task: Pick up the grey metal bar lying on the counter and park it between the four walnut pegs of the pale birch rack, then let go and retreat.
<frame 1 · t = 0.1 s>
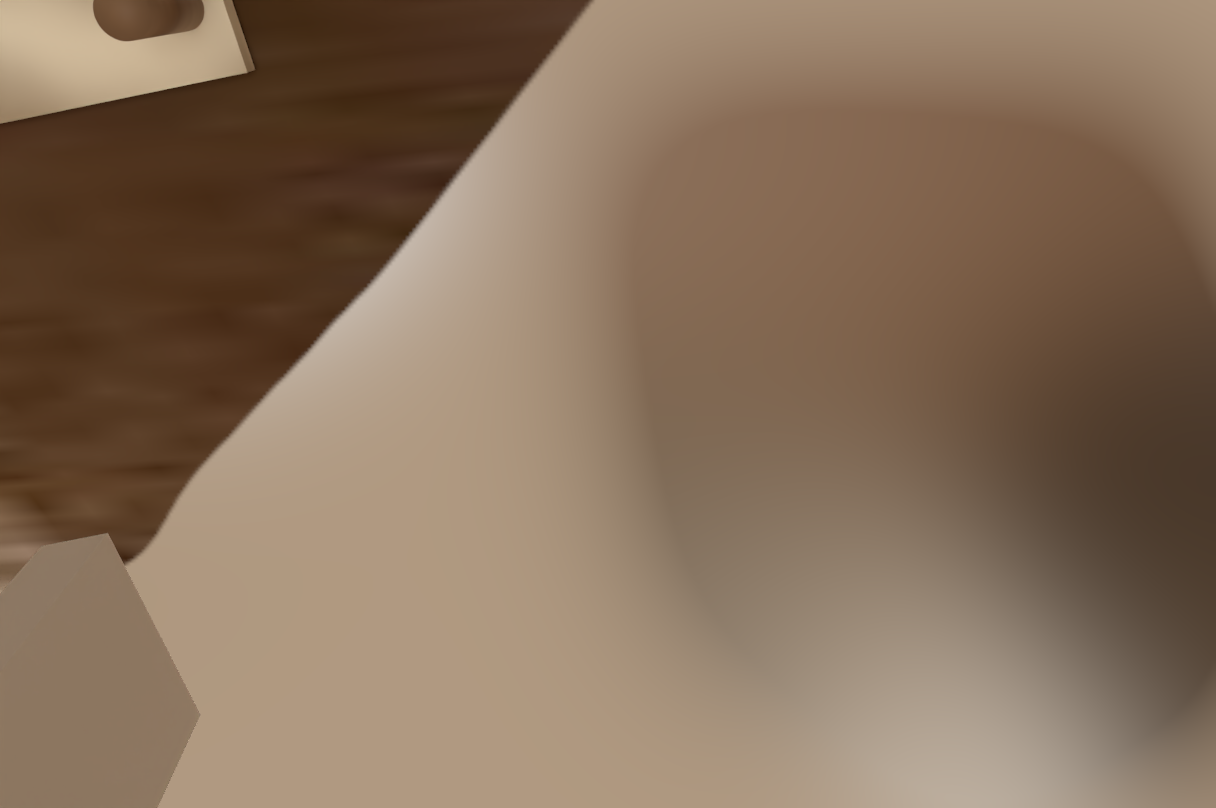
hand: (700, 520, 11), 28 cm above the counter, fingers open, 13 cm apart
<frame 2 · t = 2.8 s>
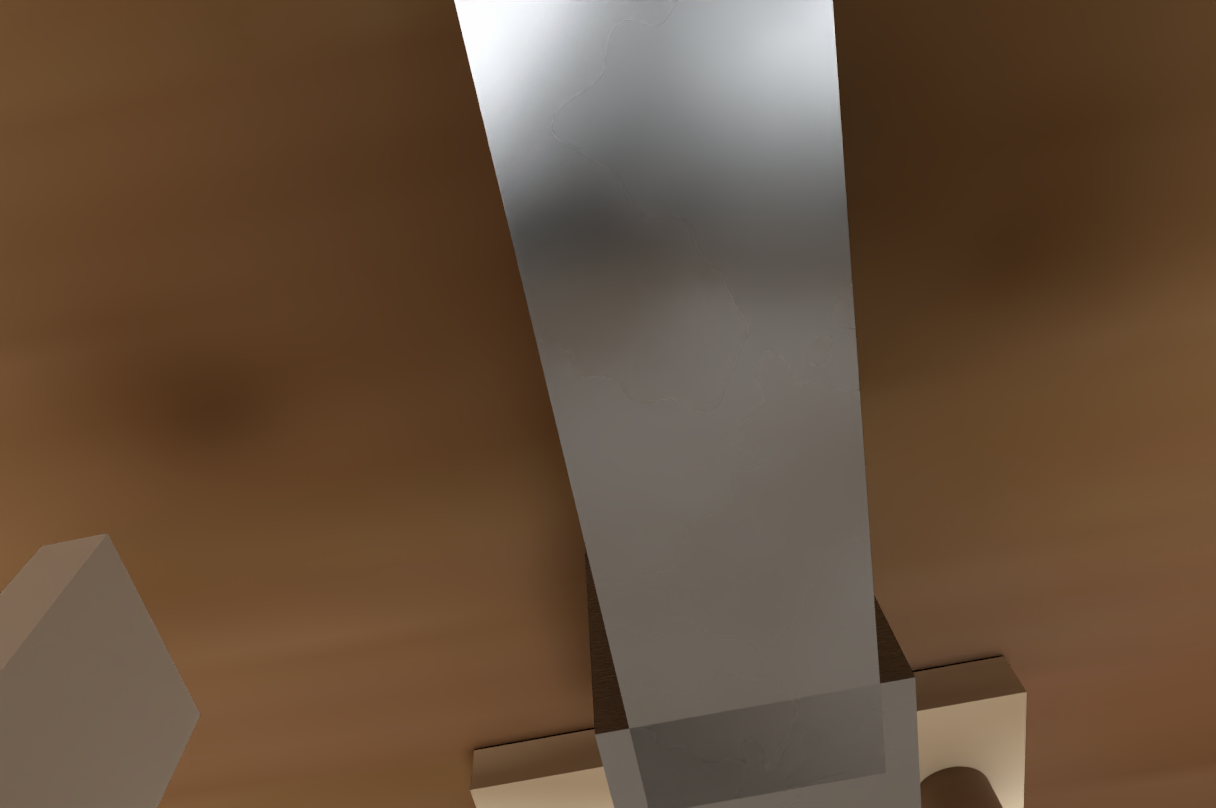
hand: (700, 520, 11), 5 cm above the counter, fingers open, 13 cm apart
grey metal bar: (672, 322, 15), on the counter
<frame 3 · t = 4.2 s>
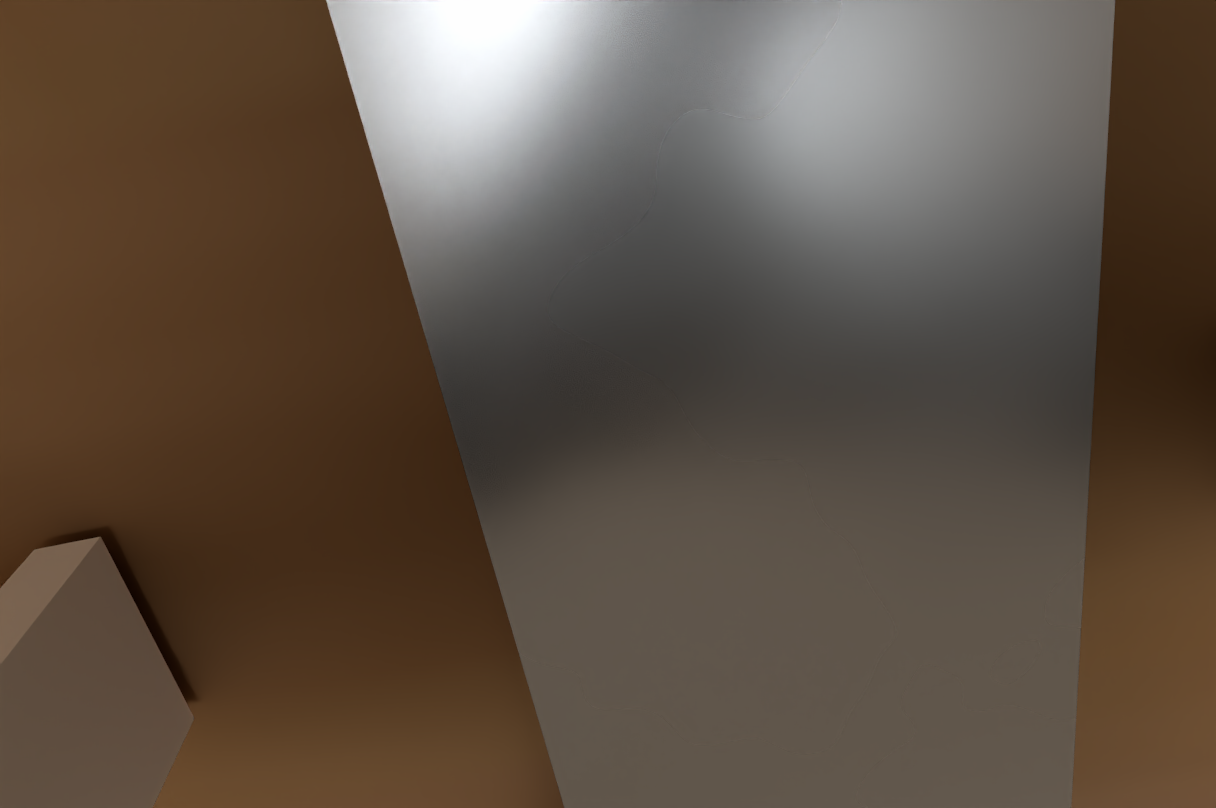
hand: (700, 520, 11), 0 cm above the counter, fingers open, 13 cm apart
grey metal bar: (720, 493, 11), on the counter
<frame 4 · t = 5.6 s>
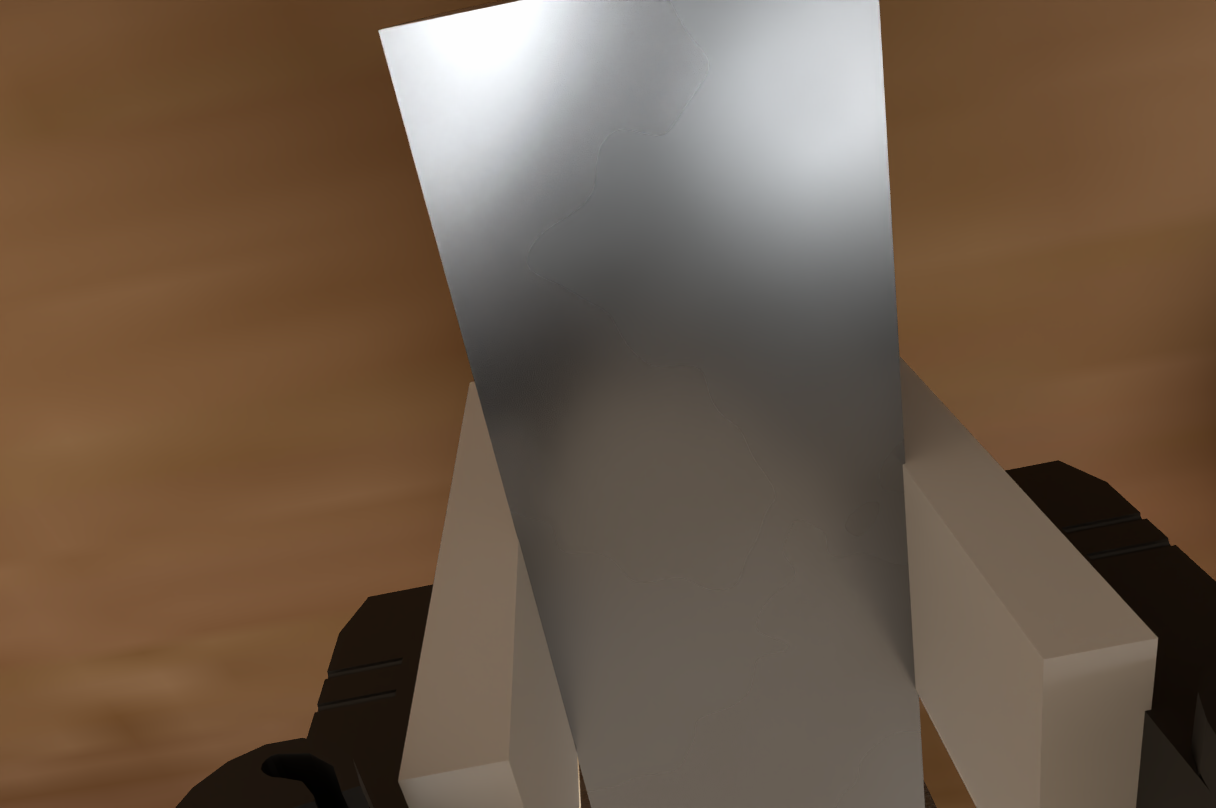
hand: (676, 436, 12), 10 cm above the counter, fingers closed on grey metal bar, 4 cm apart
grey metal bar: (674, 438, 13), point 10 cm above the counter, touching gripper
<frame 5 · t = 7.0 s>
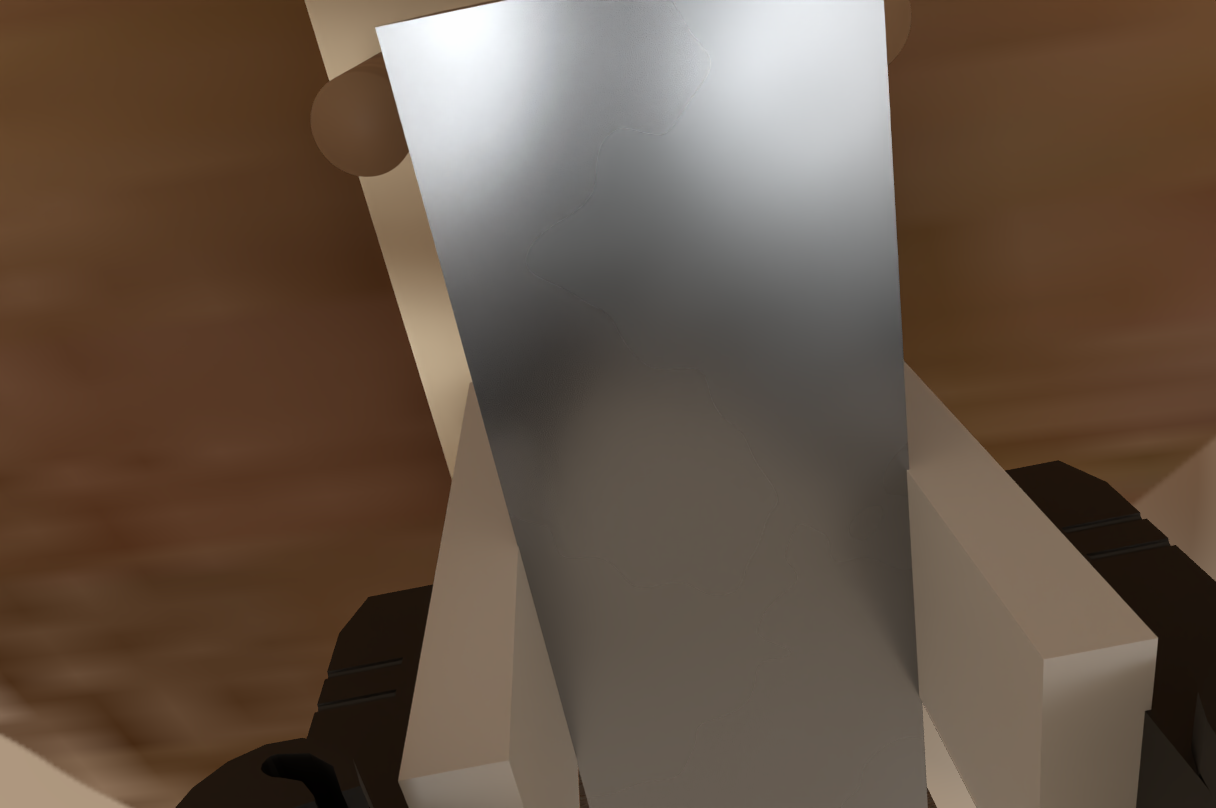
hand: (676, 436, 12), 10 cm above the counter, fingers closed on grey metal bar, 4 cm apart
rack: (625, 222, 22), on the counter
grey metal bar: (675, 440, 13), point 10 cm above the counter, touching gripper
when the fingers open (3 cm above the counter, at t = 8.9 s): grey metal bar drops 1 cm, resting on rack.
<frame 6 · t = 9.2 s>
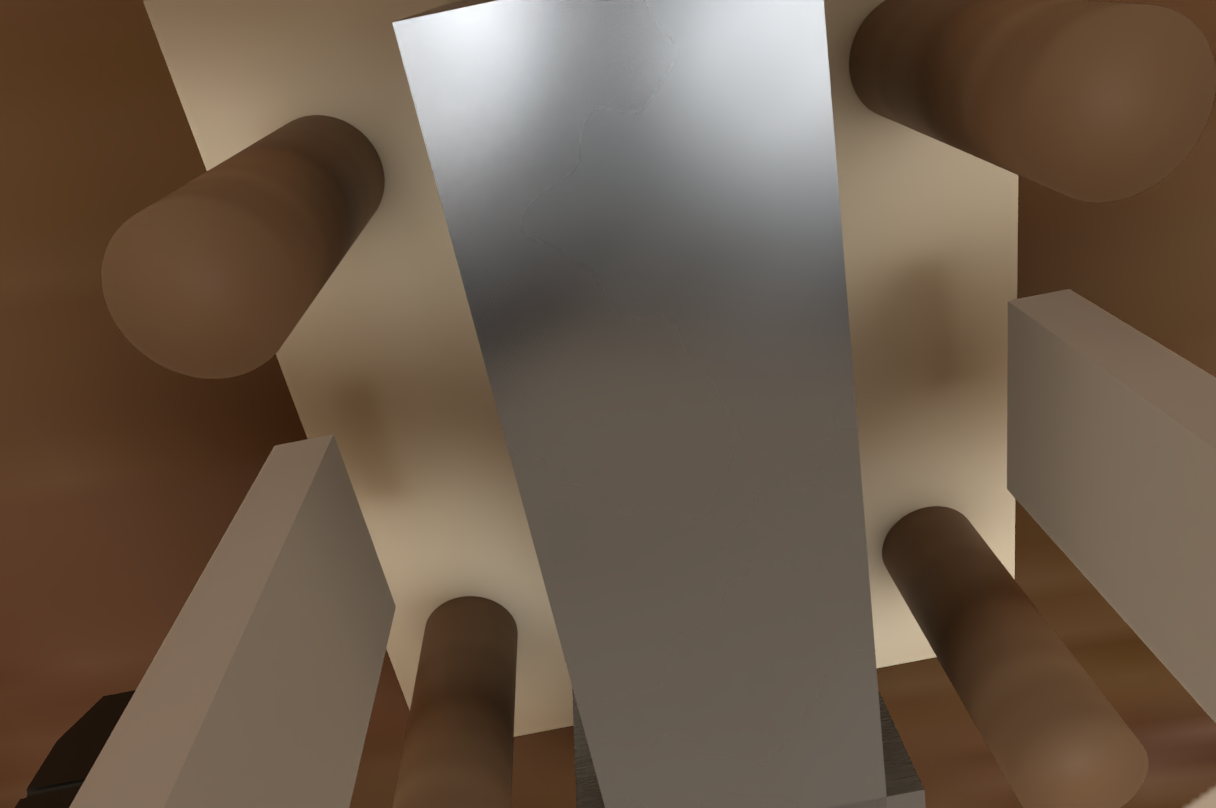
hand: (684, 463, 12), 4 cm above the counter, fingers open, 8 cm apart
rack: (654, 357, 15), on the counter
grey metal bar: (660, 396, 14), point 1 cm above the counter, touching rack
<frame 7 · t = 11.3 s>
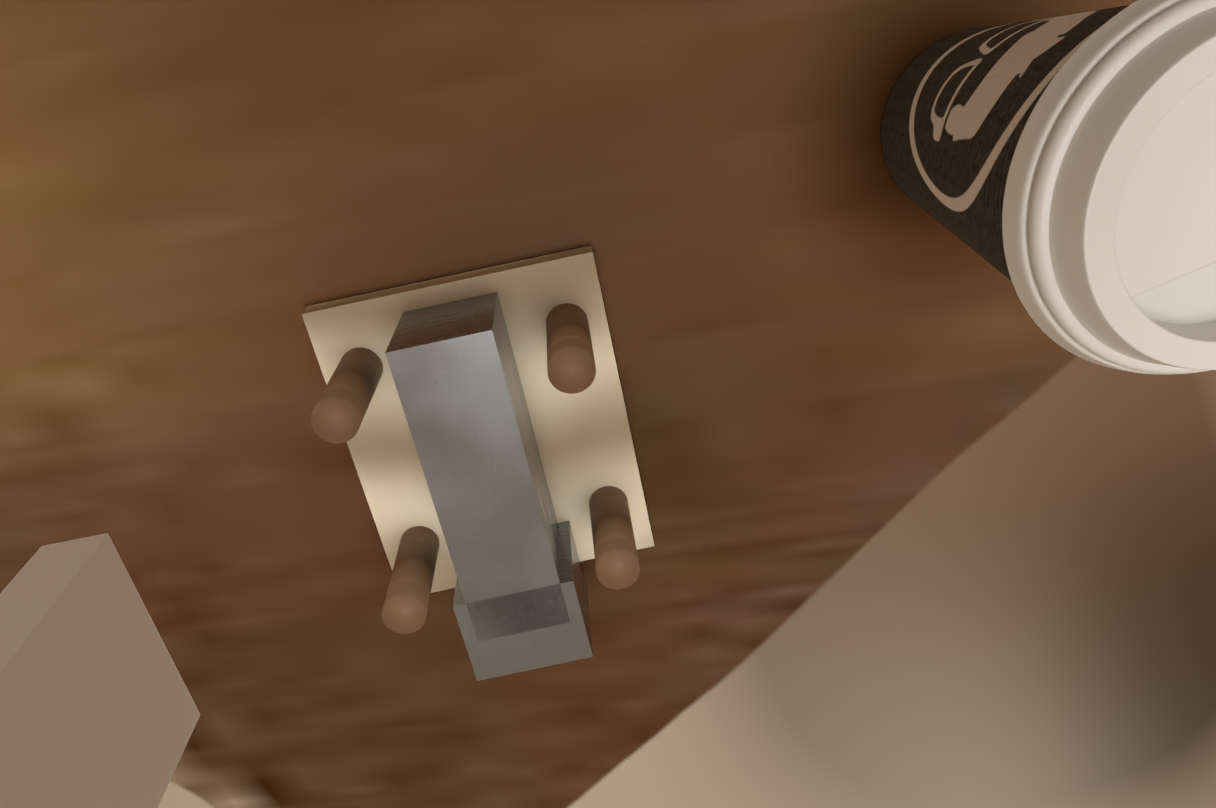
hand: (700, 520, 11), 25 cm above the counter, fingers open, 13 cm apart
coffee cup: (964, 123, 34), on the counter
rack: (491, 427, 37), on the counter
grey metal bar: (490, 443, 36), point 1 cm above the counter, touching rack
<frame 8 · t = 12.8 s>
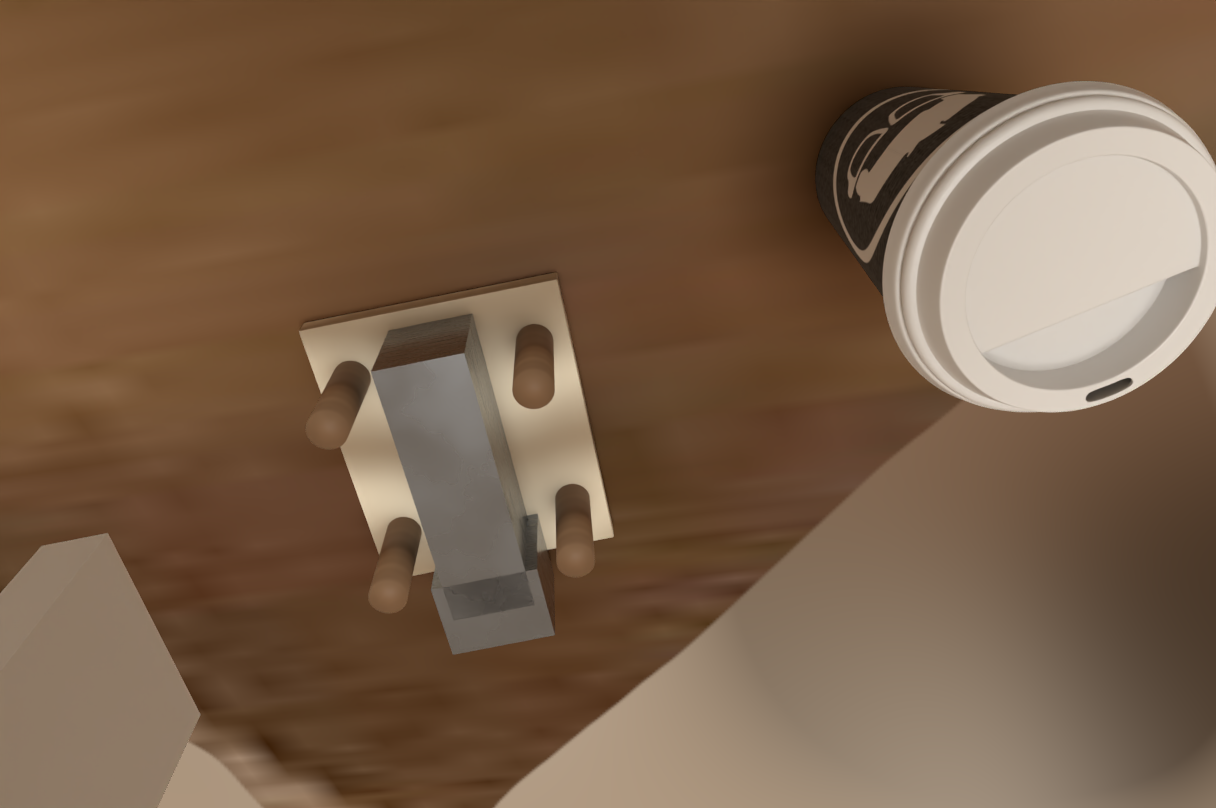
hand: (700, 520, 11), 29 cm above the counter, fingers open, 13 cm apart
coffee cup: (890, 168, 38), on the counter
rack: (468, 430, 42), on the counter
grey metal bar: (466, 445, 41), point 1 cm above the counter, touching rack
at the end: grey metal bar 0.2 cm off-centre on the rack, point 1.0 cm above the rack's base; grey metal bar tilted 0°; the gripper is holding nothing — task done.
